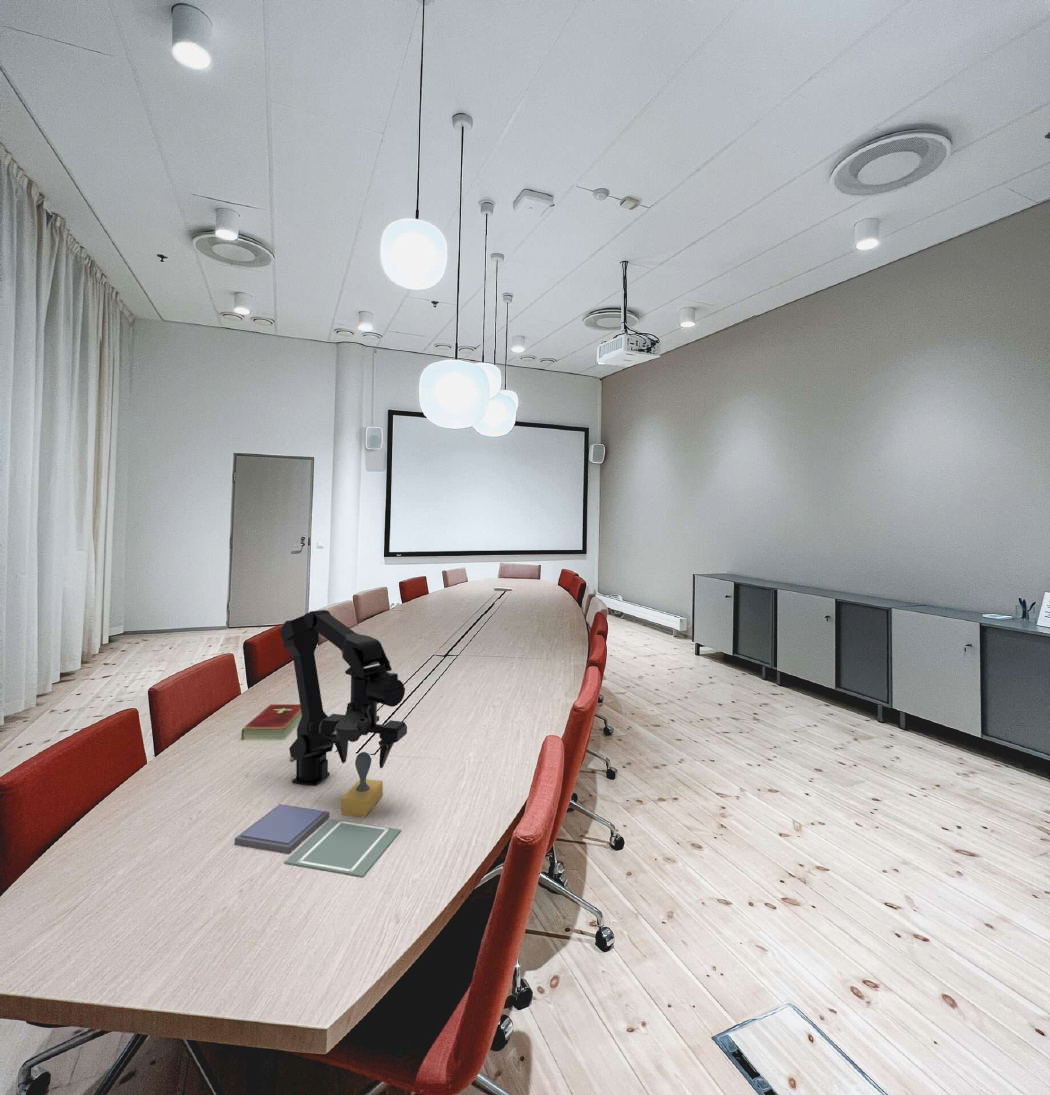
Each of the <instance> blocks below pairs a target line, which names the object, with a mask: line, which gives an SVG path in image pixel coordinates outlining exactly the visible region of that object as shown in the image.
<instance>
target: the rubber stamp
mask: <svg viewBox="0 0 1050 1095" xmlns="http://www.w3.org/2000/svg"><path fill="white" fill-rule="evenodd" d="M354 764H355V765H354V766H355V770H356V772H357V774H358V776H359V779H358V780H357V781H356V782H355V783H354V785H353V786H352V787H351V788H350V789H349V790H348V791H347V792H346V793H345V794H344V795H343V796H342V797H341V800H340V803H341V804H340V814H341V815H344V816H353V817H361V818H362V817H366V816H367V815H368V814H369V813H370V811H371V810H372V808H373V807H374V806H375V805H376V804H377V803H378V801H379V800H380V799H381V797H382V796H383V794H384V793H383V789H384V787H383V785H384V784H383V780H378V779H377V780H376V779H367V776H368V774H369V771H370V768H371V765H372V757H371V755H370V754H369V753H368V752H366V751H363V752H360V753H358V754H357V756H356V758H355V761H354Z"/></svg>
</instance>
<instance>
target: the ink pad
mask: <svg viewBox="0 0 1050 1095" xmlns="http://www.w3.org/2000/svg"><path fill="white" fill-rule="evenodd" d="M329 818H330V811H327V810H319V809H314V808H308V807H301V806H300V807H299V806H295V805H286V804H282V803H281V804H278V805H277V806H275V807H274V808H273V809H271V810H270V811H269V812H267V813H266V814H265V815H264V816H262V817H261V818H260V819H258V820H257V821H256V822H254V823H253V824H251V825H250V826H249V827H247V828H246V829H245V830H244V831H242V832H241V833H239V834H238V835H237V836H236V837H235V838H234V845H237V846H242V847H243V846H244V847H249V848H256V849H260V850H267V851H272V852H277V851H278V853H283V852H284V853H285V854H290V853H292V852H291V851H292V850H293V851H294V850H295V849H296V848H297V847H298V846H299V845H301V842H302V841H303V842H304V841H305V840H306V839H307V838H308V837H310V836H311V834H313V833H314V831H316V830H317V829H319V827H320V826H322V825H323V823H325V822H326V821H327V820H328V819H329Z"/></svg>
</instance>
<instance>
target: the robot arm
mask: <svg viewBox="0 0 1050 1095" xmlns="http://www.w3.org/2000/svg"><path fill="white" fill-rule="evenodd" d="M319 634H320V635H319ZM320 636H322V637H323V638H325V639H326V640H327V641H329V642H330V643H331V644H332V645H334V646H335V647H337V648H338V650H340V651H341V654H342V655H341V656H342V657H341V658H342V659H343V660H344V662H345V663H346V664H348V666H349V667H348V668H347V669H346V670H345V671H344V673H345V674H346V675H348V676H350V702H348V703H347V706H346V711H345V714H339V713H332V714H330V715H329V716H328V715H327V713H326V712H325V711H324V707H323V701H322V695H321V694H322V693H321V689H320V688H321V686H320V680H319V674H318V669H317V662H316V656H315V651H316V649H317V647H318V644H319V642H320ZM280 637H281V640H282V642H283V647H284V649H285V650H287V652H288V653H289V654H290V656H291V657H292V659H293V664H294V665H293V666H294V672H295V673H294V674H295V679H296V685H297V687H296V688H297V692H298V700H299V704H300V706H301V713H302V717H301V720H300V722H299V724H298V725H297V726H296V736H297V737H296V739H295V740H294V742H292V744H291V745H290V747H289V753H290V754H289V755H290V757H292V758H294V759H295V760H296V761H295V762H296V765H295V766H296V767H295V770H296V773H295V777H294V778H293V779H292V780H291V782H292V783H293V784H294V783H296V784H302V785H309V786H317V785H319V784H320V783H321V782H323V780H325V779H327V778H328V777H329V776H330V774H331V773H330V772H329V771H328V770H329V761H328V759H327V753H329V752H333V748H334V745H335V748H336V751H337V753H338V756H339V758H340V762H341V764H345V763H346V762H347V758H348V749H349V742H350V743H351V742H352V743H355V742H357V741H359V740H360V738H361V736H367V735H369V733H370V734H378V735H379V739H380V740H379V741H378V743H377V744H378V746H379V761H378V763H379V769H383V768H384V766H385V764H386V762H387V759H388V757H389V755H390V752H391V751H392V748H393V745H394V744H395V743H398V742H399V741H400V740H401V739H402V738H404V737H405V736H406V735H407V734H408V726H407V724H406V722H405V721H400V720H389V721H387V722H386V723H385V724H379V723H378V722H379V721H380V715H377V714H378V704H382V705H385V706H387V707H390V708H392V707H394V708H395V707H396V706H398V705H399V704H401V702H402V701H403V699H404V697H405V692H406V688H405V686H404V683H403V682H402V681H401V680H399V675H398V673H395V672H391V671H392V666H391V662H390V660H389V659H388V657H387V654H386V652H385V650H384V647H383V646H382V643H381V641H379V640H378V639H377V638H374V637H373V636H369V635H366V634H360V633H357V632H355V631H354V630H352V629H351V628H349V627H348V626H346V625H345V624H344V623H343V622H341V621H340V620H338V619H337V618H336V617H334V616H333V615H332V614H331V612H330V611H329V610H327V609H317V610H312V611H308V612H307V613H305V614H303V615H302V616H299V617H297V618H294V619H291V620H290V619H289V620H286V621H285V622H284V623H283V625H282V626H281V628H280Z"/></svg>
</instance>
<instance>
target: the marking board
mask: <svg viewBox="0 0 1050 1095" xmlns="http://www.w3.org/2000/svg"><path fill="white" fill-rule="evenodd" d="M401 832H402V829H399V828H392V827H387V826H379V825H374V824H373V825H372V824H369V823H360V822H354V821H347V820H341V819H335V818H330V819H329V820H328V821H327V822H326V823H325V824H324V825H322V827H321V828H320V829H319V828H318V830H317V831H316V832H315V833H314V834H313V835H312V836H310V837H309V839H308V840H306V841H305V842H304V843H302V845H301V846H299V848H297V849H296V850H295V851H294V852H293V853H292V854H291V855H290V856H288V858H287V859H286V860H285V861H283V863H284V864H285V865H292V866H296V867H297V866H298V867H302V868H308V869H312V870H313V869H314V870H320V871H325V872H331V873H337V874H340V875H341V874H342V875H348V876H353V877H359V878H364V877H365V875H367V873H368V872H369V871H370V870H371V868H372V867H373V866H374V864H376V862H377V861H378V860H379V859H380V857H382V855H383V854H384V853H385V851H386V850H388V847H390V845H391V844H392V843H393V842H394V840H395V839H396V838H397V837H398V836H399V834H400V833H401Z"/></svg>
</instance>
